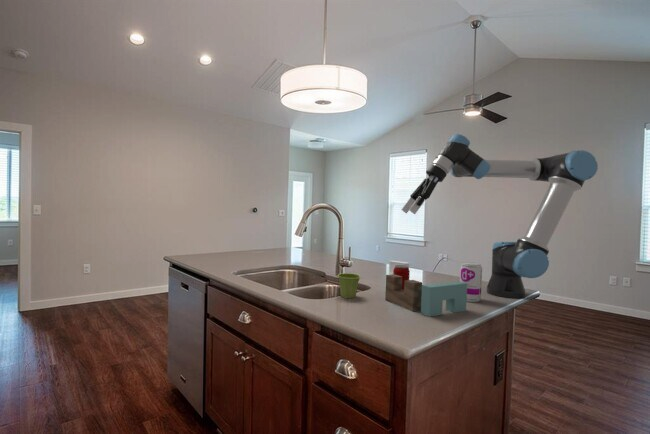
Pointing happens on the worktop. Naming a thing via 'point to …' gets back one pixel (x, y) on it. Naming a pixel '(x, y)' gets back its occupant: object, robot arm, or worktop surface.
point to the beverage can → (402, 273)
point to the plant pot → (348, 284)
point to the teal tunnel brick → (443, 297)
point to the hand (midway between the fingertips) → (407, 212)
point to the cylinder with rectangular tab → (394, 263)
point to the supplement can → (472, 280)
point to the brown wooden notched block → (403, 292)
